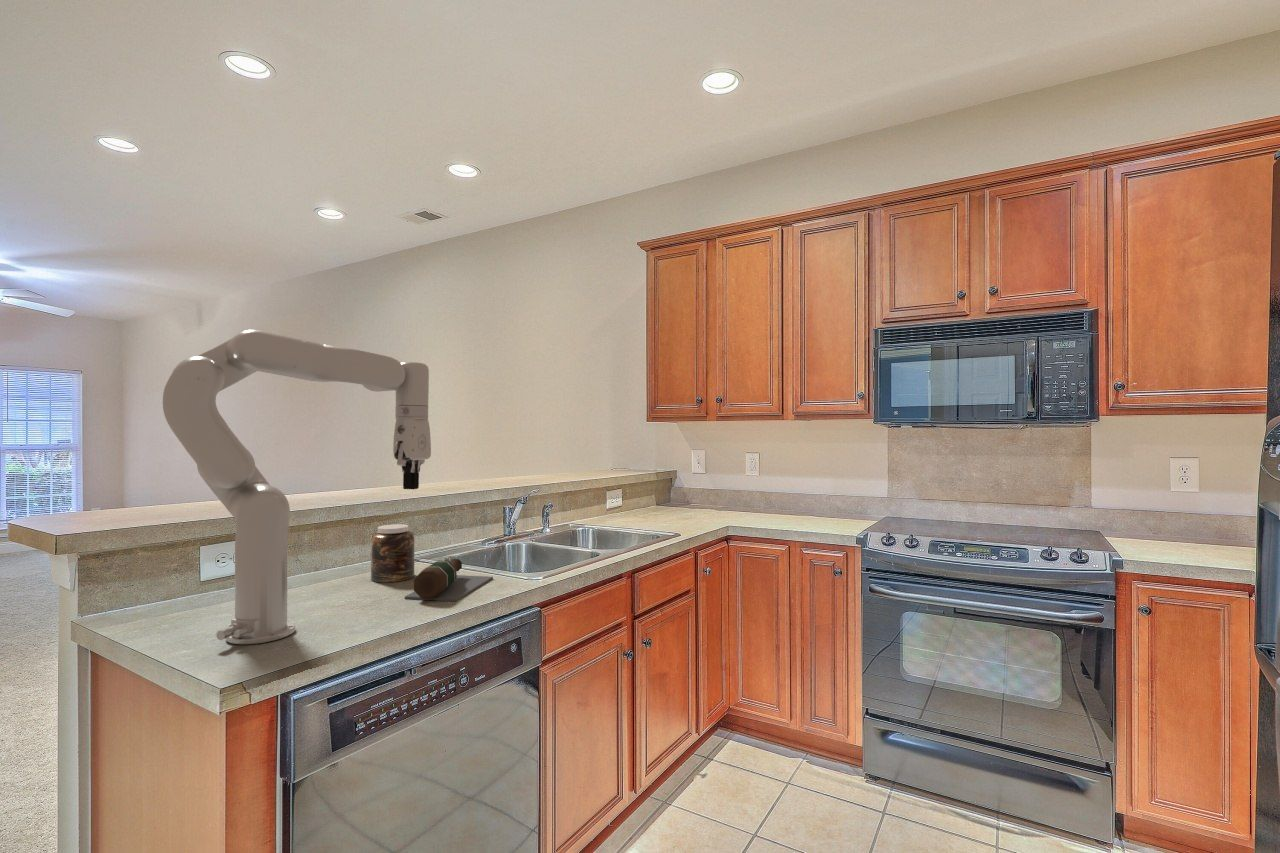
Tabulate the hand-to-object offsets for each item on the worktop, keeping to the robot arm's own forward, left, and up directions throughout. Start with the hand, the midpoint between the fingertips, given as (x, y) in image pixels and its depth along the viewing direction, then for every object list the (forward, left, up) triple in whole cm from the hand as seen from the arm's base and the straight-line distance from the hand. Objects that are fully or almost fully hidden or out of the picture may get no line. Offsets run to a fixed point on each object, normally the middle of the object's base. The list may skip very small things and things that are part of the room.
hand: (410, 488), depth 153 cm
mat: (+19, -1, -29) cm, 35 cm away
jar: (+27, +21, -29) cm, 45 cm away
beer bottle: (+5, -1, -25) cm, 25 cm away
